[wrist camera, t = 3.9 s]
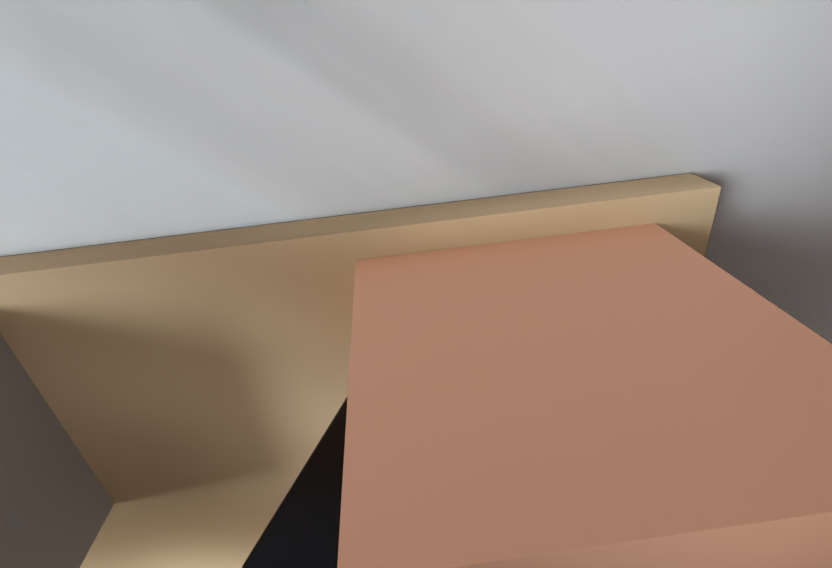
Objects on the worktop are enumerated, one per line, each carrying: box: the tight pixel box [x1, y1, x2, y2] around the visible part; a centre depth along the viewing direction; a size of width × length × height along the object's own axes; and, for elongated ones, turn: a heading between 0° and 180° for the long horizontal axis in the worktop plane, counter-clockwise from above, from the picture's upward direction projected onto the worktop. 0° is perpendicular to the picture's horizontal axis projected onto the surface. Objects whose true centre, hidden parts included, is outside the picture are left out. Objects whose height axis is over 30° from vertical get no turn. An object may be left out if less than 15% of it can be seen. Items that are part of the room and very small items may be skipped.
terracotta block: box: [337, 223, 832, 568], centre depth 7 cm, size 5×5×5 cm
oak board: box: [0, 173, 721, 568], centre depth 11 cm, size 15×18×1 cm
